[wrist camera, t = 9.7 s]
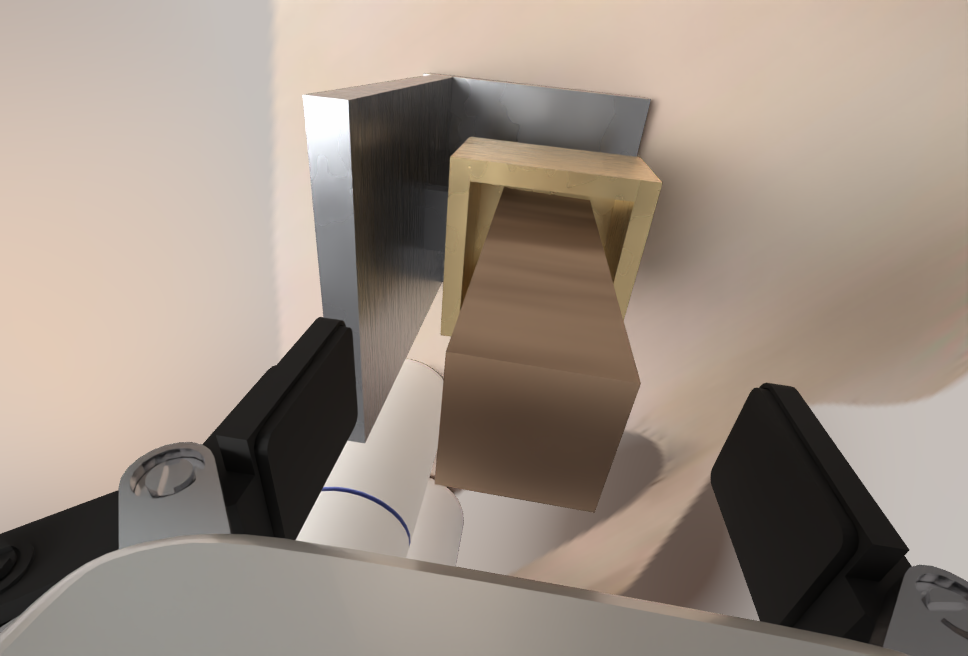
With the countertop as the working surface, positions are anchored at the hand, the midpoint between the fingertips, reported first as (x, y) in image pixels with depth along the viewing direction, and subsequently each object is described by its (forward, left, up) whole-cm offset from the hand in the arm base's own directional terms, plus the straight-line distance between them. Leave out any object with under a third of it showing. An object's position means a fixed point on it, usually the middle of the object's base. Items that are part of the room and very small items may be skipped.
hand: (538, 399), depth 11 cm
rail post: (0, 0, -13) cm, 13 cm away
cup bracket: (0, -1, -20) cm, 20 cm away
